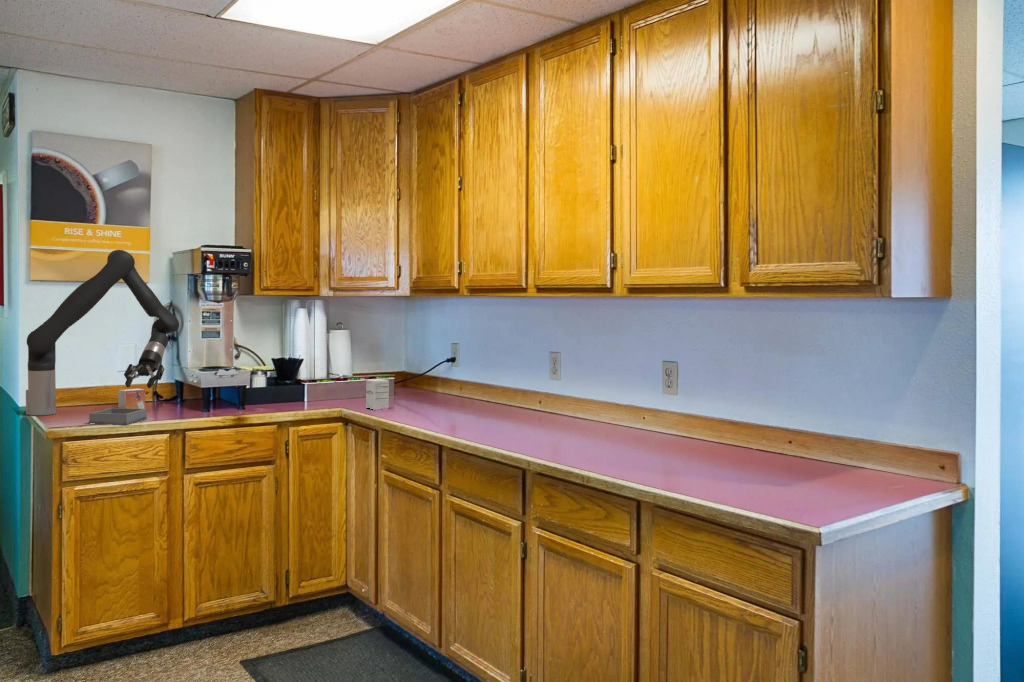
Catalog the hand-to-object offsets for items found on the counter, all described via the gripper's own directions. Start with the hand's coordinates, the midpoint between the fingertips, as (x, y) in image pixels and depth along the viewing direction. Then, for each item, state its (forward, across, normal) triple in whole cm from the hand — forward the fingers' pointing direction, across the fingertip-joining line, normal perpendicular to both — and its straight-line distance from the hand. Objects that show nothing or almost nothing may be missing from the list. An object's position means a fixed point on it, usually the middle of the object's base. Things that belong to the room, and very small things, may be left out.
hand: (137, 386), depth 315 cm
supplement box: (-13, +88, +30) cm, 94 cm away
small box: (+11, 0, +5) cm, 12 cm away
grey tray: (+20, +2, -5) cm, 21 cm away
